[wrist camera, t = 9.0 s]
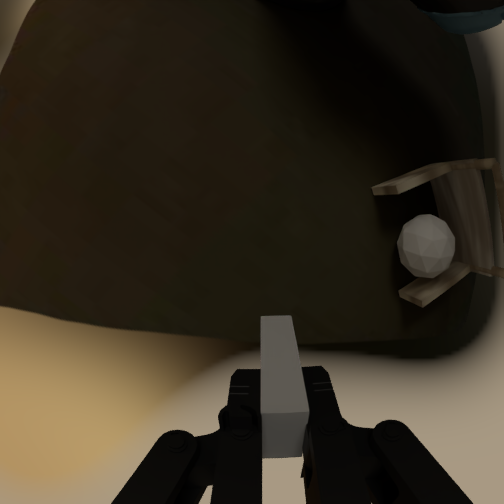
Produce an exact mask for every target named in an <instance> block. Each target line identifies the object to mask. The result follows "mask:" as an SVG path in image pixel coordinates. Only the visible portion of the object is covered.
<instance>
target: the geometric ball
mask: <svg viewBox="0 0 504 504" xmlns="http://www.w3.org/2000/svg"><path fill="white" fill-rule="evenodd" d="M397 246H398V251H399V256H400V261H401V263H402V264H403V265H404V266H405V267H406V268H407V269H408V270H409V271H410V272H411V273H412V274H413V275H414V276H417V277H426V278H434V277H436V276H437V275H439V274H440V273H442V272H443V271H445V270H446V269H448V268H449V265H450V263H451V261H452V258H453V256H454V252H455V237H454V235H453V233H452V232H451V230H450V228H449V227H448V225H447V223H446V222H445V221H443V220H441V219H439V218H438V217H436V216H433V215H431V214H426V215H418V216H417V217H415V218H413V219H412V220H410V221H409V222H407V223H406V224H404V225H403V228H402V231H401V233H400V236H399V238H398V241H397Z"/></svg>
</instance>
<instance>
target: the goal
mask: <svg viewBox="0 0 504 504" xmlns="http://www.w3.org/2000/svg"><path fill="white" fill-rule="evenodd" d="M484 169H492V172H493V176H494V181H495V186H496V191H497V196H498V202H499V208H500V215H501V222H502V230H503V241H504V181H503V177H502V172H501V168H500V163H499V162H497V161H496V159H495V158H490V159H479V160H477V158H475V159H466V160H458V161H450V162H442V163H434V164H429V165H426V166H424V167H421V168H419V169H416V170H414V171H411V172H409V173H406V174H404V175H401V176H399V177H396V178H394V179H391V180H389V181H386V182H384V183H381V184H379V185H376V186H374V187H371V188H372V191H373V194H374V195H392V194H400V193H402V192H405V191H407V190H409V189H411V188H414V187H416V186H418V185H420V184H423V183H425V182H427V181H429V180H430V182H431V186H432V190H433V193H434V197H435V201H436V206H437V210H438V214H439V219H441V220H443V221H445V222H446V223H447V225H448V227H449V228H450V230H451V232H452V233H453V235H454V237H455V252H454V256H453V258H452V261H451V263H450V265H449V268H448V269H446V270H445V271H443V272H442V273H440V274H439V275H437V276H436V277H434V278H426V277H419V278H417V279H416V280H414V281H413V282H411V283H410V284H408V285H406V286H405V287H403V288H402V289H400V290H398V291H399V296H400V297H401V298H403V299H405V300H407V301H410V302H412V303H414V304H416V305H418V306H420V307H422V308H423V307H424V306H426V305H427V304H429V303H430V302H431V301H433V300H434V299H436V298H437V297H438V296H440V295H441V294H442V293H444V292H445V291H446V290H448V289H449V288H450V287H452V286H453V285H454V284H455V283H457V282H458V281H459V280H460V279H462V278H463V277H464V276H465V275H467V274H468V273H469V272H470V271H472V272H476V273H480V274H483V275H487V276H490V277H491V276H493V275H494V276H498V277H501V278H504V268H499V267H496V266H494V254H493V243H492V234H491V226H490V219H489V213H488V206H487V201H486V196H485V191H484V186H483V181H482V177H481V173H480V170H484Z"/></svg>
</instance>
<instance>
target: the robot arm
mask: <svg viewBox="0 0 504 504" xmlns="http://www.w3.org/2000/svg"><path fill="white" fill-rule="evenodd" d="M271 1H273V2H275V3H278V4H280V5H283V6H286V7H290V8H294V9H299V10H306V11H323V10H328V9H331V8H333V7H335V6H337V5H338V4H339V3H340V2H341V0H271ZM410 1H412V2H413V3H414V4H415V5H416V6H417V8H418V9H419V10H420V11H421V12H423V13H425V14H427V15H428V16H429V17H430V18H431V19H432V20H433V21H435V22H436V23H437V24H438V25H439V26H440V27H441V28H443V29H444V30H446V31H448V32H451V33H455V34H471V33H476V32H481V31H484V30H487V29H490V28H492V27H495V26H497V25H498V24H500V23H502V20H504V0H410ZM218 420H219V425H220V429H219V430H217V431H216V432H214V433H211V434H208V435H203V436H197V437H194V436H193V435H192V434H191V433H189V432H187V431H182V430H172V431H168V432H166V433H164V434H163V435H162V436H161V437H160V438H159V439H158V440H157V442H156V443H155V444H154V446H153V447H152V449H151V450H150V451H149V453H148V454H147V455H146V457H145V458H144V460H143V461H142V462H141V464H140V465H139V466H138V468H137V469H136V471H135V472H134V473H133V475H132V476H131V477H130V479H129V480H128V481H127V483H126V484H125V486H124V487H123V488H122V490H121V491H120V492H119V494H118V495H117V496H116V498H115V499H114V500H113V502H112V503H111V504H199V501H200V500H201V498H202V496H203V494H204V492H205V490H206V488H207V486H209V485H213V488H212V495H211V503H210V504H262V458H288V457H301V456H302V453H303V457H304V463H303V468H302V473H301V478H303V477H304V486H305V496H306V504H371V503H372V504H473V503H472V501H471V500H470V499H469V498H468V497H467V496H466V494H464V492H463V491H462V490H461V489H460V487H459V486H458V485H457V484H456V483H455V482H454V480H452V478H451V477H450V476H449V475H448V473H447V472H446V471H445V470H444V469H443V468H442V466H441V465H440V464H439V463H438V462H437V461H436V460H435V458H434V457H433V456H432V455H431V454H430V452H429V451H428V450H427V449H426V448H425V447H424V445H423V444H422V443H421V442H420V441H419V440H418V438H417V437H416V436H415V435H414V434H413V433H412V431H411V430H410V429H409V428H408V427H407V426H406V425H405V424H403V423H402V422H400V421H397V420H386V421H382V422H380V423H379V424H377V425H376V427H375V428H362V427H356V426H353V425H350V424H349V423H348V422H347V421H346V420H345V419H344V418H342V416H341V414H340V411H339V407H338V404H337V400H336V397H335V393H334V390H333V387H332V383H331V380H330V377H329V374H328V372H327V371H326V370H325V369H324V368H323V367H322V366H312V367H301V363H300V358H299V354H298V348H297V343H296V338H295V333H294V328H293V323H292V318H291V316H261V369H237V370H236V371H235V373H234V374H233V375H232V376H231V381H230V388H229V396H228V403H227V406H225V407H224V408H223V409H221V411H220V413H219V415H218Z"/></svg>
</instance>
